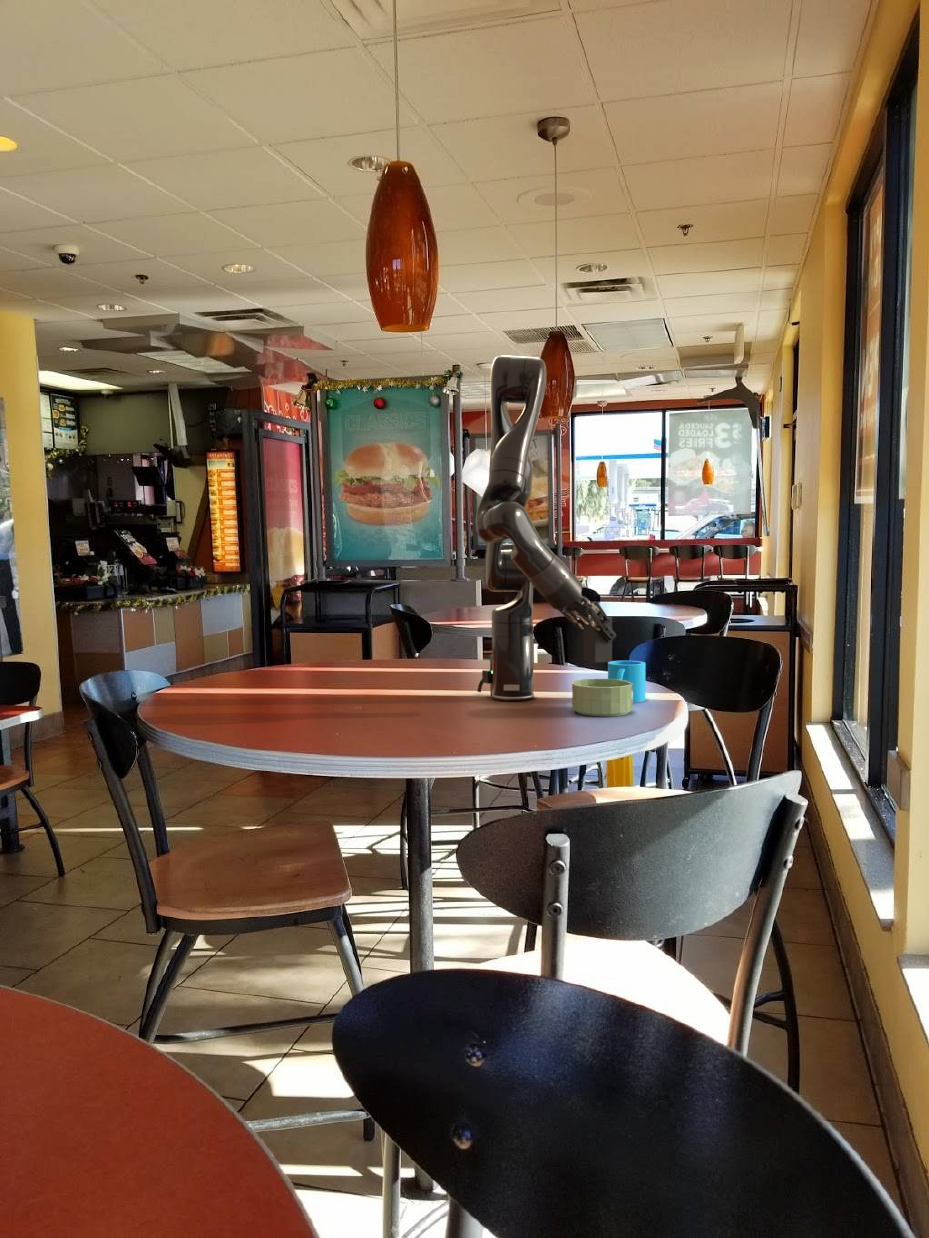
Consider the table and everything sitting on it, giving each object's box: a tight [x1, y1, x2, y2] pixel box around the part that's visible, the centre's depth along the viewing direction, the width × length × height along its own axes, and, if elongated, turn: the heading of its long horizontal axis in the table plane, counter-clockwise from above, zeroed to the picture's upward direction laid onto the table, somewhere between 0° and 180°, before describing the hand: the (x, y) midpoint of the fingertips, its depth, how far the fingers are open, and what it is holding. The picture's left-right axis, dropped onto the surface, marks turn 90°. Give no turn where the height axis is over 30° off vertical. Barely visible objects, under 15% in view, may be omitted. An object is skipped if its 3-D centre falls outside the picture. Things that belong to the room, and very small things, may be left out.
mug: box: [607, 660, 646, 704], centre depth 202 cm, size 12×8×8 cm
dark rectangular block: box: [583, 615, 613, 664], centre depth 188 cm, size 4×4×9 cm
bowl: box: [571, 678, 634, 718], centre depth 190 cm, size 12×12×6 cm
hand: (605, 638), depth 189 cm, fingers closed on dark rectangular block, 4 cm apart
